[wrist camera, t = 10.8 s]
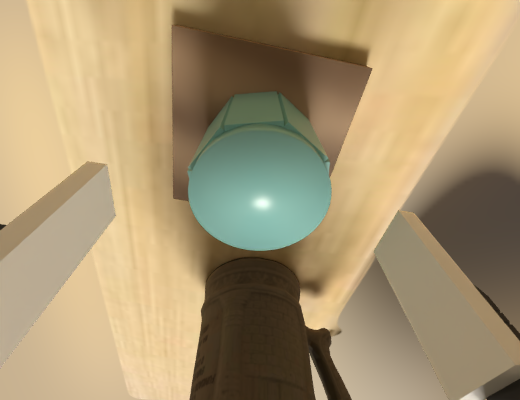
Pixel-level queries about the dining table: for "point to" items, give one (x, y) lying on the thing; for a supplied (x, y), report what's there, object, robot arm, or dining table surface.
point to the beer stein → (259, 338)
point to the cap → (259, 174)
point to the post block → (255, 89)
